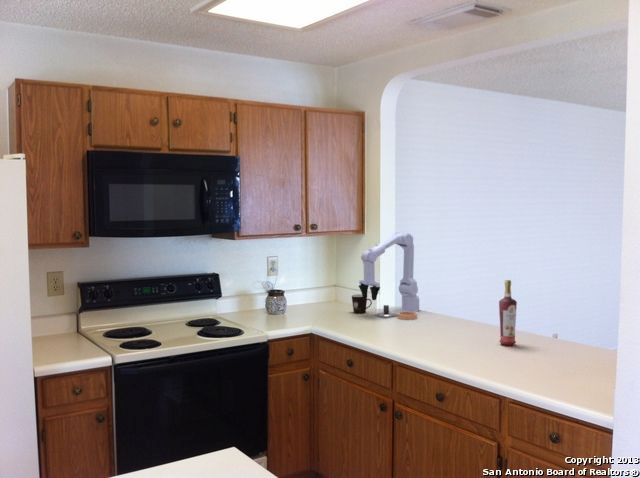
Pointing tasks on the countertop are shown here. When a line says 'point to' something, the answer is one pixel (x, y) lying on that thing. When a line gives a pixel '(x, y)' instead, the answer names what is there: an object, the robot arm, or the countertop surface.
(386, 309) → the lid
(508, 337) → the liquor
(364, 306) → the coffee mug
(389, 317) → the mat
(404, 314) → the bowl
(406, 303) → the robot arm
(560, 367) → the countertop surface
